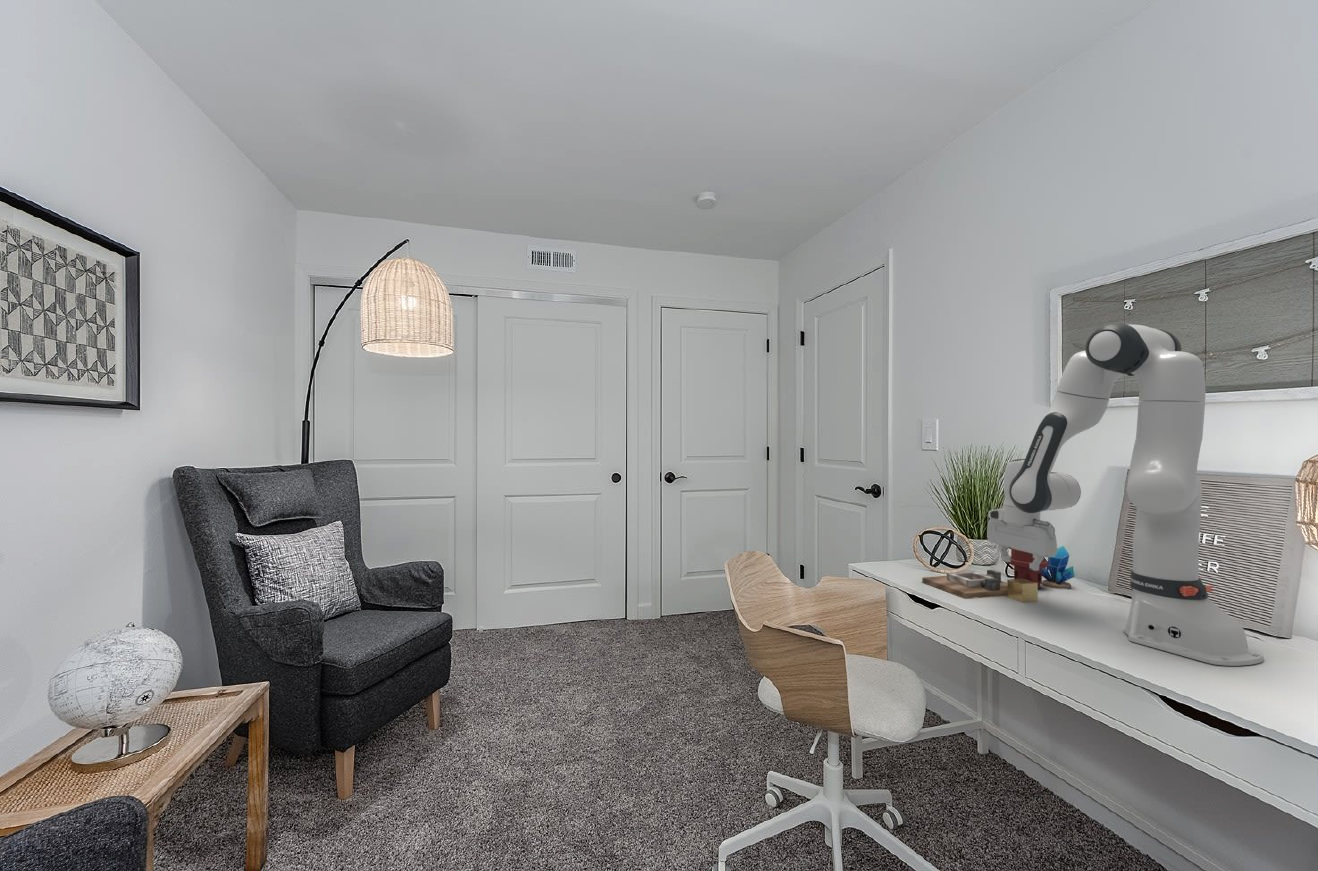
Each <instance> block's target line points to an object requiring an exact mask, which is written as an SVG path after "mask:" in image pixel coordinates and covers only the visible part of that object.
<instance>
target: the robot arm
mask: <svg viewBox="0 0 1318 871" xmlns="http://www.w3.org/2000/svg"><path fill="white" fill-rule="evenodd" d="M1125 375H1126V376H1129V377H1132V376H1134V377H1136V379H1137V381H1138V382H1139V391H1138V392H1139V395H1138V404H1137V405H1138V406H1137V407H1138V409H1137V418H1136V433H1135V441H1134V443H1133V444H1134V445H1133V450H1132V454H1131V459H1130V465H1129V471H1128V479H1127V485H1126V494H1127V496H1128V499H1129V501H1130V502H1131V503H1132V504H1133V506H1134V507H1136V516H1135V522H1134V531H1133V534H1132V570H1131V571H1130V582H1129V583H1130V584H1129V586H1130V589H1131V603H1130V608H1129V613H1128V618H1127V620H1126V625H1125V627H1124V629H1123V632H1124V634H1126V635H1127V636H1128V641H1130V642H1132V643H1136V644H1138V645H1143V646H1147V647H1151V648H1153V649H1156V650H1160V651H1164V652H1166V653H1167V652H1168V653H1172V654H1175V655H1178V656H1181V657H1186V658H1187V659H1188V658H1189V659H1192V660H1197V661H1200V662H1204V663H1207V664H1209V665H1210V664H1211V665H1216V666H1230V667H1231V666H1232V667H1233V666H1234V667H1236V666H1237V667H1238V666H1240V667H1241V666H1249V665H1256V664H1260V663H1263V662H1264V660H1265V659H1264V654H1263V653H1261V652H1258V651H1256V650H1254V649H1250V648H1249V646H1248V639H1247V636H1246V632H1245V629H1244V627H1243V626H1242V624H1241V623H1240V622H1238V621H1236V620H1235V618H1233V617H1231V616H1230V615H1229V614H1227V612H1225V611H1224V610H1223V609H1221V607H1219V605H1217V604H1215V603H1214V602H1213V601H1212V600H1211V599H1209V593H1208V592H1214V590H1213V589H1212V588H1214V585H1205V584H1204V583H1203V581H1202V579H1201V578H1200V577H1199V576H1200V575H1199V574H1200V571H1199V570H1200V566H1199V565H1200V563H1199V560H1200V559H1199V558H1200V557H1199V553H1200V552H1199V550H1200V548H1199V545H1200V531H1201V518H1202V499H1203V483H1202V482H1201V479H1200V477H1199V476H1198V474H1197V471H1198V465H1199V457H1200V451H1201V446H1202V442H1203V436H1204V435H1203V434H1204V422H1205V419H1204V418H1205V411H1206V410H1205V407H1206V376H1205V370H1204V366H1203V362H1202V360H1201V359H1200V358H1199V357H1198V356H1197V355H1195V354H1193V353H1191V352H1186V351H1182V344H1181V342H1180V340H1179V339H1178V338H1177V336H1175V335H1174V334H1173V333H1171V332H1169V331H1167V330H1164V329H1161V328H1154V327H1150V326H1146V325H1142V324H1126V323H1112V324H1107V325H1104V326H1102V327H1099V328H1097V329H1096V330H1094V331H1093V332H1092V333H1091V335H1089V337H1088V339H1087V341H1086V343H1085V349H1084V350H1081V351H1078V352H1076V353H1074V354H1073V355H1072V356H1071V357H1070V358H1069V359H1068V362H1067V364H1066V366H1065V368H1064V370H1063V372H1062V375H1061V377H1060V380H1059V382H1058V386H1057V389H1056V391H1055V392H1056V393H1055V395H1054V398H1053V400H1052V402H1051V405H1050V408H1049V410H1048V411H1047V413H1046V414H1045V416H1044V417H1043V419H1042V420H1041V421H1040V423H1039V425H1038V427H1037V429H1036V431H1035V434H1034V437H1033V439H1032V441H1031V444H1030V446H1029V448H1028V451H1027V453H1026V455H1025V458H1018V459H1012V460H1010V461H1009V462H1008V463H1006V466H1005V470H1004V475H1003V476H1004V477H1003V491H1004V500H1003V502H1002V504H1003V505H1002V508H998V509H997V508H996V509H992V510H988V514H987V516H988V518H989V520H988V522H987V526H986V527H987V528H986V537H987V540H988V541H989V543H991V544H995V545H997V547H998V548H997V549H998V551H999V553H1000V555H1001V561H1002V562H1005V563H1008V562H1010V561H1011V559H1010V558H1011V554H1010V555H1009V552H1008V549H1009V548H1010V549H1011V548H1013V549H1017V550H1021V551H1024V552H1028V553H1032V554H1033V558H1035V559H1034V561H1033V562H1032V563H1029V566H1030V567H1029V569H1031V570H1034V571H1038V570H1039V564H1040V563H1041V562H1042V560H1043V559H1044V560H1045V558H1048V557H1054V556H1055V555H1056V554H1057V548H1058V544H1057V542H1058V541H1057V534H1056V529H1055V526H1053V524H1052V523H1051V522H1050V521H1045V520H1041V513H1042V512H1046V511H1056V510H1065V509H1068V508H1072V507H1074V506H1076V505H1077V503H1078V502H1079V501H1080V499H1081V493H1082V491H1081V487H1080V484H1079V482H1078V481H1077V479H1076V478H1074V477H1073V476H1072V475H1069V474H1068V473H1067V474H1066V473H1063V472H1060V471H1057V470H1054V469H1053V467H1054V465H1055V463H1056V461H1057V458H1058V456H1059V453H1060V451H1061V449H1062V448H1063V446H1064V444H1065V443H1066V442H1068V440H1070V439H1072V438H1073V437H1074V436H1076V435H1078V434H1080V433H1082V432H1084V431H1087V430H1089V429H1091V428H1094V427H1095V426H1097V425H1098V424H1099V423H1100V421H1101V420H1102V419H1103V416H1104V415H1105V413H1106V411H1107V408H1108V405H1109V401H1110V397H1111V395H1112V392H1113V387H1114V386H1115V383H1116V382H1117V380H1118V379H1119V378H1121V377H1122V376H1125Z"/></svg>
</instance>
